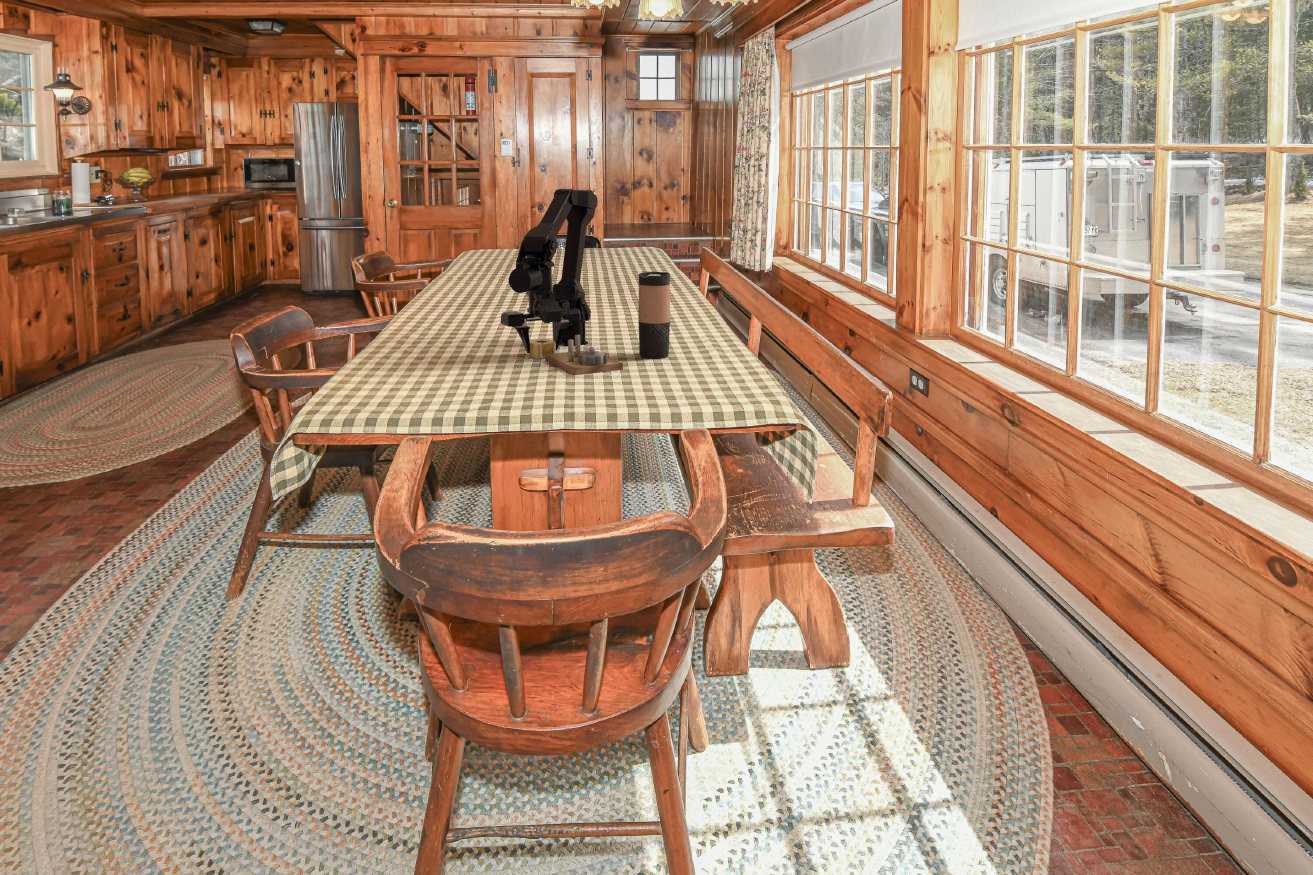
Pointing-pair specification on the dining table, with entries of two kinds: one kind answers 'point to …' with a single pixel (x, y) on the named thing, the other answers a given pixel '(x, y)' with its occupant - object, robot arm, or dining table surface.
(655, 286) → the travel mug
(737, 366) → the dining table surface
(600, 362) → the gear board
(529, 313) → the robot arm
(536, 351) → the brass gear
